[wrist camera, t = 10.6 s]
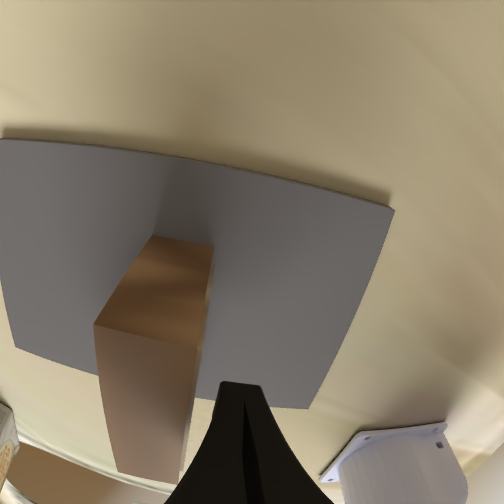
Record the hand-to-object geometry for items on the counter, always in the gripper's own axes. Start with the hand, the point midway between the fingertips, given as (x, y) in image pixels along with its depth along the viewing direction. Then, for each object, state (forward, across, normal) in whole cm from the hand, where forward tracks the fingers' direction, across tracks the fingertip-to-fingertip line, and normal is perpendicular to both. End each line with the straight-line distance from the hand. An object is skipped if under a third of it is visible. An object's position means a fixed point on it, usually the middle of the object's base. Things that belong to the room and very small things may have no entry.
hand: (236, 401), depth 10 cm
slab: (+4, +3, 0) cm, 5 cm away
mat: (+5, +4, -1) cm, 6 cm away
